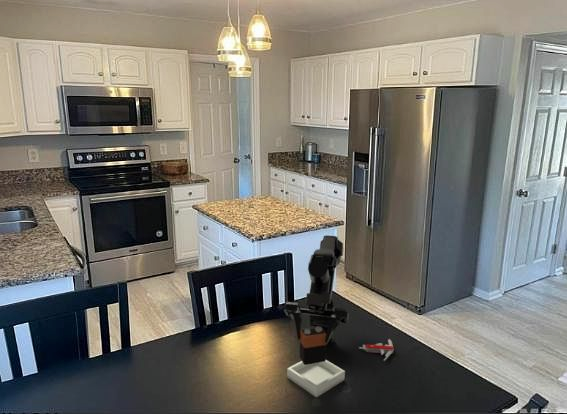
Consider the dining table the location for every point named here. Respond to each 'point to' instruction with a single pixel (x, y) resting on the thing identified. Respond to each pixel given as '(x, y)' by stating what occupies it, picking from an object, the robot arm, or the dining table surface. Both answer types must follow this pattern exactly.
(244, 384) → the dining table surface
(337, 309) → the robot arm
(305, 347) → the battery
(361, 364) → the dining table surface
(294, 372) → the parts tray
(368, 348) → the swiss army knife
